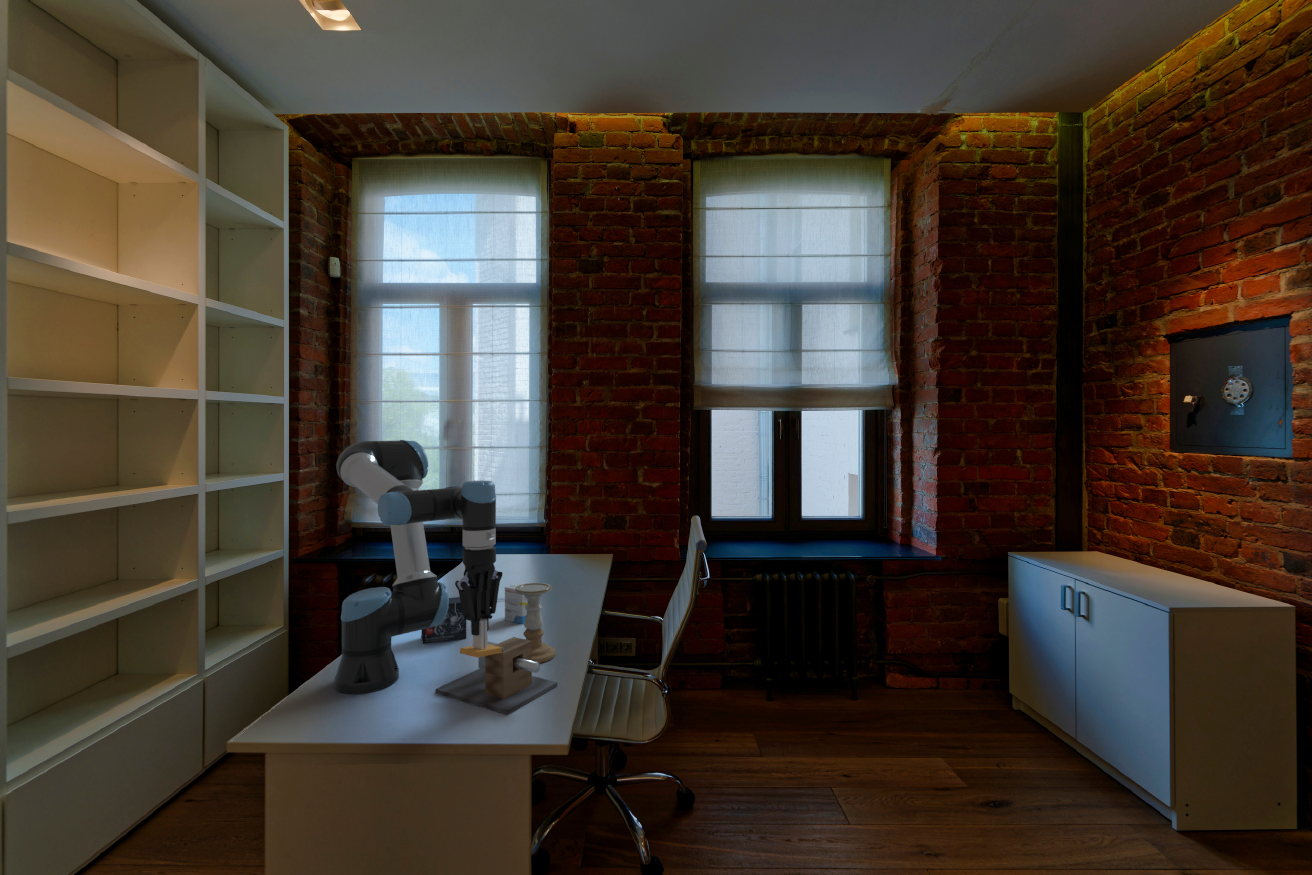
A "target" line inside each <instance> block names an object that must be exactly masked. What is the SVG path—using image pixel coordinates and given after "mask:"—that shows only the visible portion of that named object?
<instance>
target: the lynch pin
mask: <svg viewBox="0 0 1312 875" xmlns="http://www.w3.org/2000/svg"><path fill="white" fill-rule="evenodd" d="M487 644H490V645H496V644H498V643H496V642H492V641H488V640H487ZM477 658H478V666H477V667H478V669H480V668H481V669H484V670H485V656H482V657H477ZM540 664H541V663H538V662H534V661H530V660H525V659H521V658H517V657H514V658H513V667H514V668H518V669H522V670H526V671H530V672H532V673H535V674H536V673H537V674H538V672H539V671H540V669H541V665H540Z"/></svg>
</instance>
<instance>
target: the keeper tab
mask: <svg viewBox="0 0 1312 875" xmlns="http://www.w3.org/2000/svg"><path fill="white" fill-rule="evenodd" d="M502 652H504V648H503V647H498V646H494V645H490V644H487V647H486V648H484V649H482V650H481V649H477V648H473V645H470V646H469V645H468V646H463V647H460V648H459V653H460V654H462V655H465V656H469V657H474V658H478V657H482V656H488V655H493V654H498V653H502Z"/></svg>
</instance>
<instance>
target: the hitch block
mask: <svg viewBox="0 0 1312 875" xmlns="http://www.w3.org/2000/svg"><path fill="white" fill-rule="evenodd" d="M494 646H498V647H503V648H504V652H502V653H498V654H493V655H488V656H485V670H484V669H481V668H478V669H476V670H473V671H472V672H469V673H466V674H465V675H463V676H461V677H459V678H456V679H455V680H452V681H450V682H448V683H446V684H443V685H442V686H439V687H437V688H435V692H434V693H435V694H438V695H441V696H444V697H448V698H451V699H455V700H457V701H460V702H464V703H467V704H471V705H474V706H477V707H481V708H484V709H488V710H489V711H490V710H491V711H494V712H497V713H500V714H503V715H506V716H507V715H510V714H511V713H514V712H515V711H517V710H518V709H520V708H522V707H524V706H525V705H527V704H529V703H531V702H532V701H535V700H536V699H538V698H539V697H541V696H543V695H544V694H547V693H548V692H550V691H551V690H554V689H555V688H557V687H558V681H554V680H549V679H547V678H546V679H545V678H542V677H539V676H534V675H533V672H530V671H526V670H522V669H518V668H514V667H513V658H514V657H517V658H521V659H525V660H530V661H532V641H530V640H526V638H525V639H524V638H520V637H515V636H512V637H510V638H508V639H505V640H503V641H501V642H498V643H497V644H496V645H494Z"/></svg>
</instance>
